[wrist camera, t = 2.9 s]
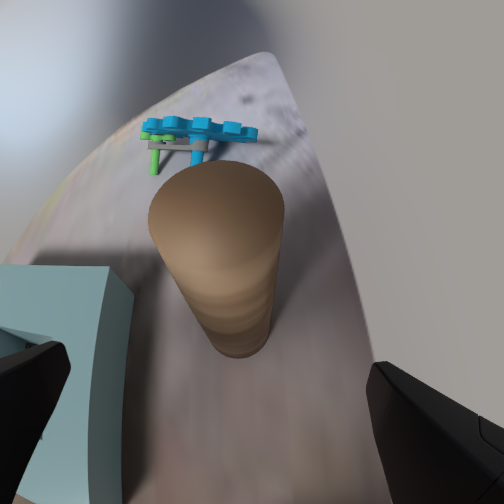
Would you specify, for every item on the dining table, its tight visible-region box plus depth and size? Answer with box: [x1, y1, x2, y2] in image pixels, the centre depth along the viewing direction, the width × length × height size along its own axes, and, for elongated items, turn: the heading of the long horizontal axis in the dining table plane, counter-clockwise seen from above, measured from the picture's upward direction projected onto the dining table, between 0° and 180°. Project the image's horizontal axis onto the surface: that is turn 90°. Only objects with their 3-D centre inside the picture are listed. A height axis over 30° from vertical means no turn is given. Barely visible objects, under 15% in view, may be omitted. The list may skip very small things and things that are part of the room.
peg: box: [148, 160, 284, 358], centre depth 14 cm, size 4×4×12 cm
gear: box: [140, 116, 258, 175], centre depth 25 cm, size 11×6×10 cm
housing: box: [0, 264, 135, 504], centre depth 15 cm, size 16×13×4 cm
